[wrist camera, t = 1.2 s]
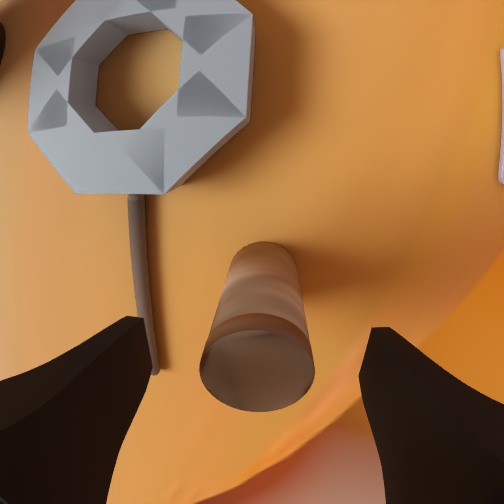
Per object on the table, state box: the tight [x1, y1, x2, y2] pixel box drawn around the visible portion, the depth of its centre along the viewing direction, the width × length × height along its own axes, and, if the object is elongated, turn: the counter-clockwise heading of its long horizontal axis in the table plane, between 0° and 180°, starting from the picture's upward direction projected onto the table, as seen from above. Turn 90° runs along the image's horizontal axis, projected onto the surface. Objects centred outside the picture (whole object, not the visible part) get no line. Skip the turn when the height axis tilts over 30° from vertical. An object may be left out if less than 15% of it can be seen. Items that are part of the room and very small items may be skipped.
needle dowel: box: [199, 242, 315, 412], centre depth 11 cm, size 3×3×7 cm
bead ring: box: [28, 0, 256, 195], centre depth 11 cm, size 10×10×2 cm
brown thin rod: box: [128, 194, 160, 375], centre depth 15 cm, size 11×1×1 cm, turn 177°
